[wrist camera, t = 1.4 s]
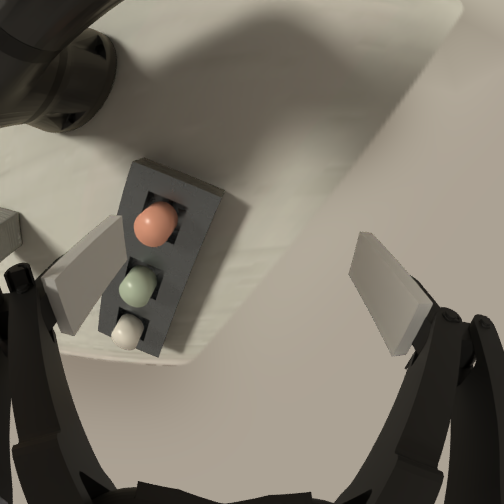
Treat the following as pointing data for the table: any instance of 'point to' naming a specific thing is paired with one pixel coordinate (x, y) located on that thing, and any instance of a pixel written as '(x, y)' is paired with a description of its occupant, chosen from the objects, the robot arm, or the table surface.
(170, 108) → the table surface
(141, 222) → the coral button
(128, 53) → the table surface
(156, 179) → the panel
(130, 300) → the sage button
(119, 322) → the white glossy ball
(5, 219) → the skincare box
